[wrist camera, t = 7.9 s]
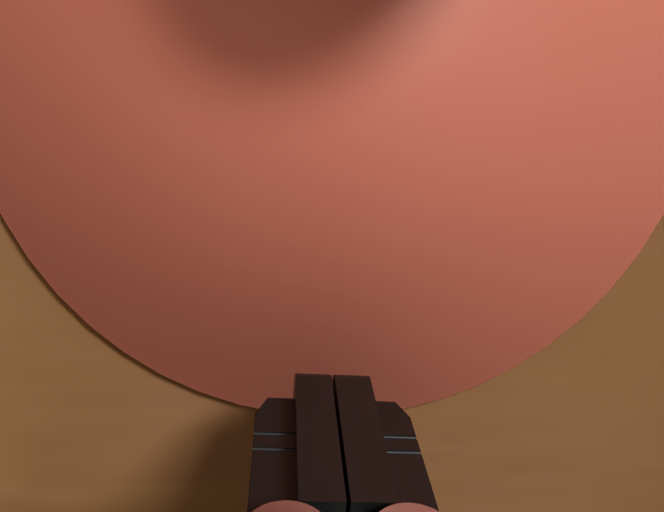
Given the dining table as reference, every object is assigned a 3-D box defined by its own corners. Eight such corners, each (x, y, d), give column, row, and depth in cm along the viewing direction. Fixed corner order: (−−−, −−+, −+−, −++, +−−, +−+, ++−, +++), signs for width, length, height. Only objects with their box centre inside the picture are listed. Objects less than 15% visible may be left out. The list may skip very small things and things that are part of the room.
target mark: (817, -311, 10) (828, -317, 10) (608, 420, 15) (613, 425, 15) (-103, -449, 9) (-112, -459, 8) (0, 400, 14) (-3, 405, 13)
